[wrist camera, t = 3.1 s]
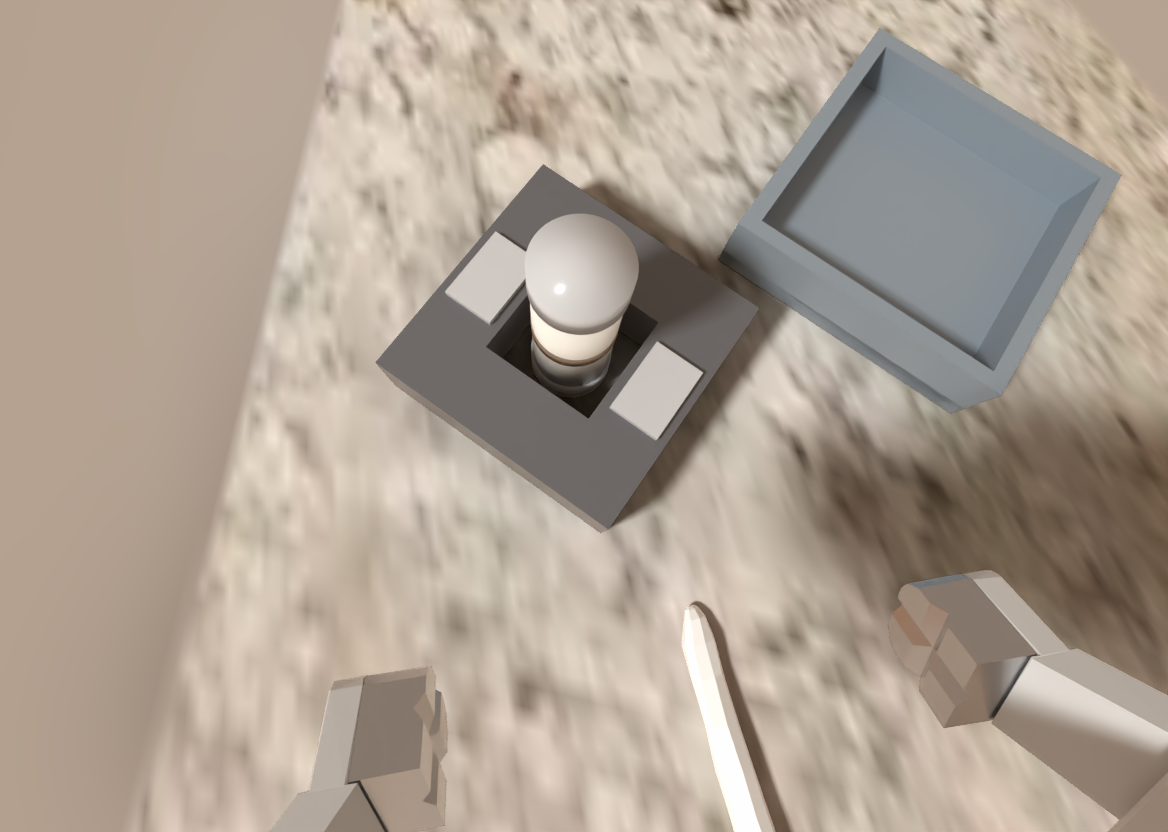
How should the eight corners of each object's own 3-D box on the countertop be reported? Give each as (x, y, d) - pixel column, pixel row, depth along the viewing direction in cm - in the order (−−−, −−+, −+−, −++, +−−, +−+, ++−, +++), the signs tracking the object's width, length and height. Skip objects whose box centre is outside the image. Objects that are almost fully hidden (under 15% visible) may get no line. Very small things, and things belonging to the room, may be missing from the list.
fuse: (623, 352, 30) (660, 254, 20) (579, 412, 29) (596, 340, 20) (561, 309, 31) (568, 193, 21) (516, 368, 30) (501, 275, 20)
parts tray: (1063, 213, 34) (1121, 175, 30) (950, 413, 30) (1001, 395, 27) (847, 79, 35) (879, 27, 31) (717, 259, 32) (738, 223, 28)
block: (735, 335, 31) (762, 305, 27) (600, 532, 28) (608, 529, 24) (543, 206, 32) (543, 160, 28) (395, 385, 29) (373, 360, 25)
